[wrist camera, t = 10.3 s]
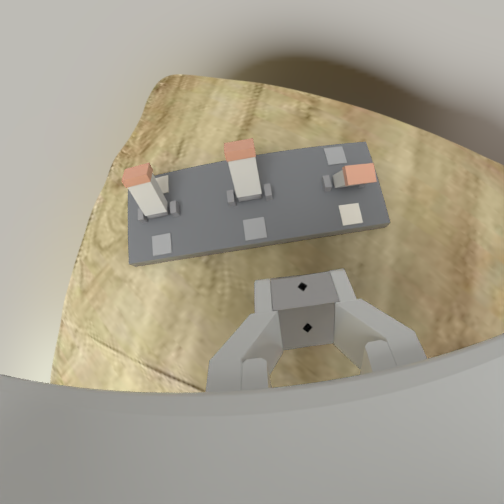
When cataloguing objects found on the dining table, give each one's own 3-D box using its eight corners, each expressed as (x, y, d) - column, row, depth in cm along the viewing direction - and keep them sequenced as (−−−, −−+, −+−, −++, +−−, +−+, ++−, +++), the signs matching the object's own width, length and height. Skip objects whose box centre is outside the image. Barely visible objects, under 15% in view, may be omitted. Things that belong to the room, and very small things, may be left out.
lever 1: (170, 218, 38) (146, 174, 32) (148, 223, 39) (121, 180, 32) (171, 207, 39) (149, 162, 33) (149, 211, 40) (124, 169, 33)
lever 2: (355, 187, 37) (376, 181, 29) (332, 190, 38) (348, 185, 30) (353, 172, 37) (373, 162, 29) (329, 174, 37) (344, 165, 29)
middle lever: (264, 201, 37) (254, 147, 31) (238, 206, 38) (224, 153, 31) (262, 191, 39) (252, 138, 32) (237, 195, 39) (224, 143, 33)
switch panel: (385, 227, 38) (393, 219, 34) (135, 266, 40) (123, 261, 37) (362, 149, 41) (367, 136, 37) (134, 187, 43) (123, 178, 40)
